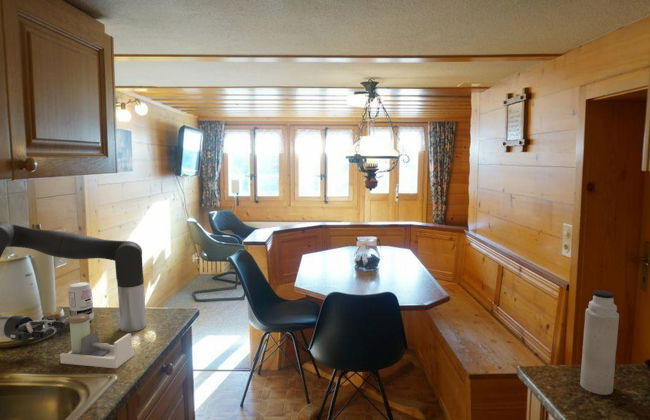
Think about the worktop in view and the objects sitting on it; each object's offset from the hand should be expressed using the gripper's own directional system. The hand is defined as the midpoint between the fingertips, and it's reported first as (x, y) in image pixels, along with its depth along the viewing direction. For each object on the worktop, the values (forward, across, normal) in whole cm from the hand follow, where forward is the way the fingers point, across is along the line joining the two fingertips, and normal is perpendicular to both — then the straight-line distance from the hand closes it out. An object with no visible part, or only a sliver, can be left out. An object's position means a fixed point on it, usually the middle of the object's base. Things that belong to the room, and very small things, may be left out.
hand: (54, 329), depth 147 cm
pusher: (+16, 0, +8) cm, 18 cm away
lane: (+15, 0, +9) cm, 18 cm away
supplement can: (-14, +29, +9) cm, 34 cm away
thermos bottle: (+168, +9, +9) cm, 169 cm away
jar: (+10, 0, +8) cm, 13 cm away
